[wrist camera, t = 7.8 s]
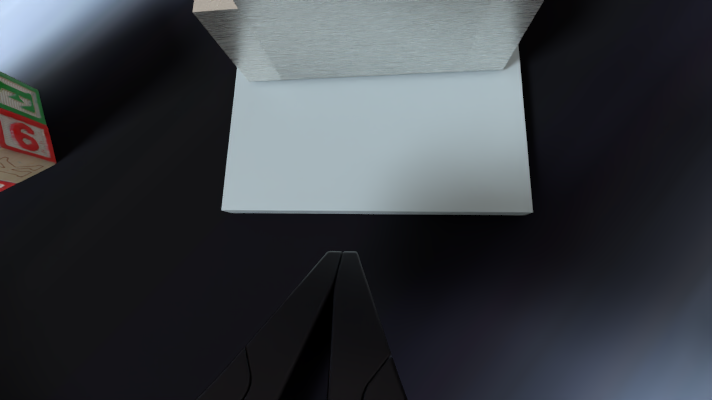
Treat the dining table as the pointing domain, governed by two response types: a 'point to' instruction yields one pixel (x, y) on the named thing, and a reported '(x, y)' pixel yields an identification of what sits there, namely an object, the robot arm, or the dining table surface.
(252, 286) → the dining table surface
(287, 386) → the robot arm
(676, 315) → the dining table surface
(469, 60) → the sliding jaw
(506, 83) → the pale blue base plate
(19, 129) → the stack of blocks
